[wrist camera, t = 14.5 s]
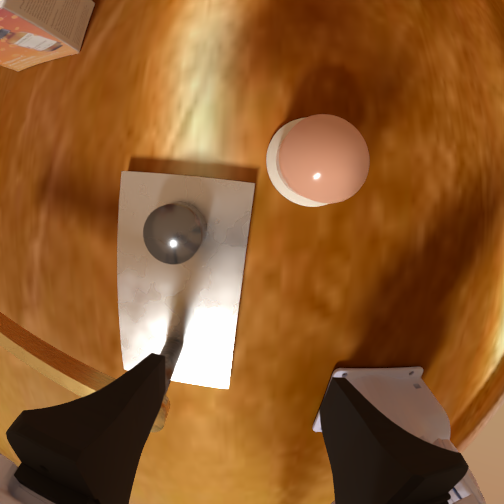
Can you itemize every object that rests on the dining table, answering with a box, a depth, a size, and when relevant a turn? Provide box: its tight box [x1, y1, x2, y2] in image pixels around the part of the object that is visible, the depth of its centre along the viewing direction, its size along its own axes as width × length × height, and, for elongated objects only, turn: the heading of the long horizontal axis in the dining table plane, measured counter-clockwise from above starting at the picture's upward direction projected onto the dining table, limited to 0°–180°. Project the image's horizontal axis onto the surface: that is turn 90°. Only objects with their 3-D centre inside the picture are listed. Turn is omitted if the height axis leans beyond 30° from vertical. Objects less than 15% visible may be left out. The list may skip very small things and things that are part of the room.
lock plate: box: [117, 171, 255, 395], centre depth 17 cm, size 9×16×7 cm, turn 172°
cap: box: [276, 114, 370, 203], centre depth 16 cm, size 5×5×4 cm
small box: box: [0, 0, 95, 71], centre depth 10 cm, size 8×6×10 cm
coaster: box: [266, 117, 329, 207], centre depth 18 cm, size 6×6×1 cm
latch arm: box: [0, 312, 170, 432], centre depth 13 cm, size 15×2×2 cm, turn 69°
